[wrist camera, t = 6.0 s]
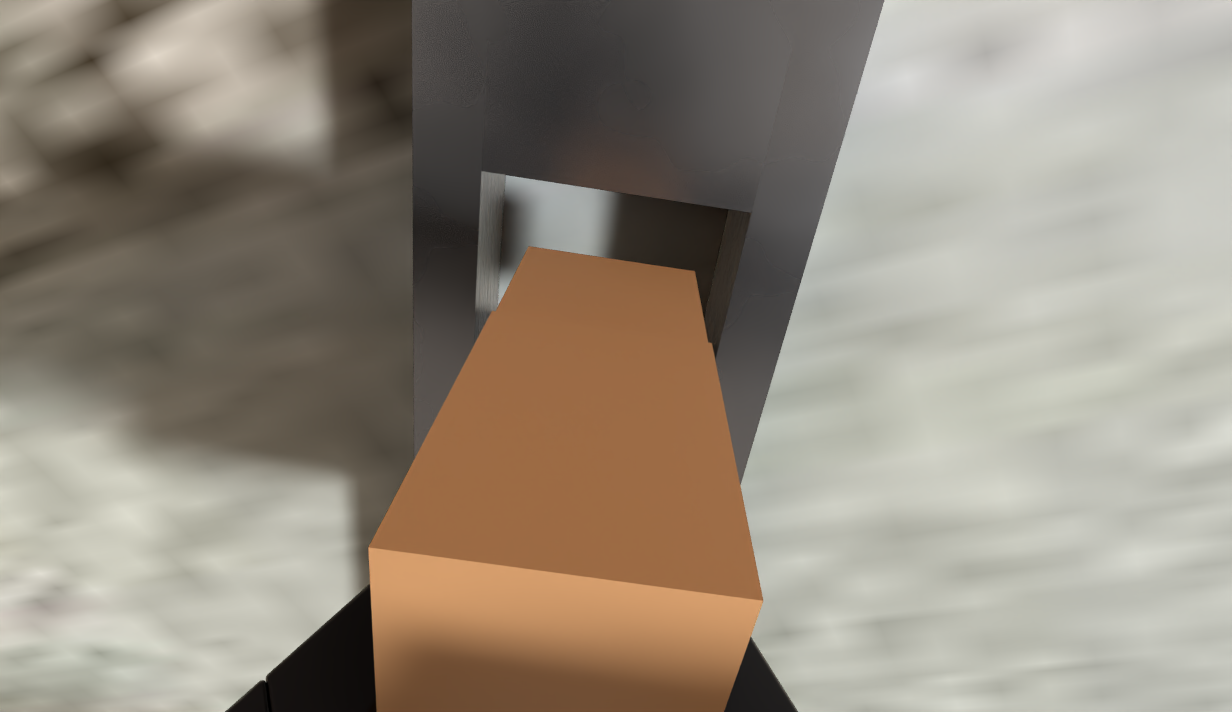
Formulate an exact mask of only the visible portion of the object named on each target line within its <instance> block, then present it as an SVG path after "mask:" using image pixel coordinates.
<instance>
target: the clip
mask: <svg viewBox="0 0 1232 712" xmlns="http://www.w3.org/2000/svg"><path fill="white" fill-rule="evenodd" d="M368 551H369V570H370V590H371V610H372V630H373V649H374V669H375V689H376V708H377V712H724V710H725V707H726V705H727V702H728V699H729V696H730V693H731V690H732V688H733V685H734V682H735V679H736V676H737V674H738V671H739V668H740V665H741V662H742V659H743V657H744V654H745V651H746V648H747V645H748V643H749V640H750V637H751V634H752V631H753V629H754V626H755V623H756V620H757V617H758V614H759V612H760V609H761V606H762V603H763V597H762V592H761V587H760V582H759V577H758V572H757V567H756V562H755V557H754V552H753V547H752V542H751V537H750V532H749V527H748V522H747V517H746V512H745V507H744V502H743V497H742V492H741V487H740V482H739V477H738V472H737V467H736V462H735V457H734V452H733V447H732V442H731V437H730V432H729V427H728V422H727V416H726V411H725V406H724V401H723V396H722V391H721V386H720V381H719V376H718V371H717V366H716V361H715V356H714V351H713V346H712V343H708V338H707V333H706V328H705V322H704V317H703V312H702V306H701V301H700V296H699V291H698V285H697V280H696V275H695V271H690V270H683V269H677V268H670V267H663V266H657V265H650V264H643V263H637V262H630V261H623V260H617V259H610V258H603V257H597V256H590V255H583V254H577V253H570V252H563V251H557V250H550V249H544V248H537V247H530V246H529V247H528V249H527V251H526V253H525V255H524V257H523V259H522V260H521V262H520V264H519V266H518V268H517V270H516V272H515V274H514V276H513V278H512V280H511V282H510V284H509V286H508V288H507V290H506V292H505V294H504V296H503V298H502V300H501V302H500V304H499V306H498V308H497V309H496V311H492V312H491V314H490V316H489V318H488V319H487V321H486V323H485V325H484V327H483V329H482V331H481V333H480V335H479V337H478V339H477V341H476V342H475V344H474V346H473V348H472V350H471V352H470V354H469V356H468V358H467V360H466V362H465V363H464V365H463V367H462V369H461V371H460V373H459V375H458V377H457V379H456V381H455V383H454V385H453V386H452V388H451V390H450V392H449V394H448V396H447V398H446V400H445V402H444V404H443V406H442V407H441V409H440V411H439V413H438V415H437V417H436V419H435V421H434V423H433V425H432V427H431V429H430V430H429V432H428V434H427V436H426V438H425V440H424V442H423V444H422V446H421V448H420V450H419V451H418V453H417V455H416V457H415V459H414V461H413V463H412V465H411V467H410V469H409V471H408V472H407V474H406V476H405V478H404V480H403V482H402V484H401V486H400V488H399V490H398V492H397V494H396V495H395V497H394V499H393V501H392V503H391V505H390V507H389V509H388V511H387V513H386V515H385V516H384V518H383V520H382V522H381V524H380V526H379V528H378V530H377V532H376V534H375V536H374V538H373V539H372V541H371V543H370V545H369V547H368Z"/></svg>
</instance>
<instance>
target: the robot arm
mask: <svg viewBox="0 0 1232 712" xmlns="http://www.w3.org/2000/svg"><path fill="white" fill-rule="evenodd" d="M225 712H377V708H376V689H375V669H374V649H373V630H372V610H371V590H370V584H369V585H368V586H367V587H366V588H364V589H363V590H362V591H361V592H360V593H359V594H358V595H357V596H355V597H354V598H353V599H352V600H351V601H350V602H349V603H348V604H346V605H345V606H344V607H343V608H342V609H341V610H340V611H339V612H337V613H336V614H335V615H334V616H333V617H332V618H331V619H330V620H328V621H327V622H326V623H325V624H324V625H323V626H322V627H321V628H319V629H318V630H317V631H316V632H315V633H314V634H313V635H312V636H310V637H309V638H308V639H307V640H306V641H305V642H304V643H303V644H301V645H300V646H299V647H298V648H297V649H296V650H295V651H294V652H292V653H291V654H290V655H289V656H288V657H287V658H286V659H285V660H283V661H282V662H281V663H280V664H279V665H278V666H277V667H276V668H274V669H273V670H272V671H271V672H270V673H269V674H268V675H267V676H266V681H264V680H261V681H259V682H258V683H257V684H256V685H255V686H254V687H253V688H252V689H250V690H249V691H248V692H247V693H246V694H245V695H244V696H243V697H241V698H240V699H239V700H238V701H237V702H236V703H235V704H234V705H232V706H231V707H230V708H229V709H228V710H226V711H225ZM724 712H798V711H797V709H796V708H795V706H794V705H793V703H792V701H791V700H790V698H789V697H788V695H787V693H786V692H785V690H784V689H783V687H782V685H781V684H780V682H779V681H778V679H777V677H776V676H775V674H774V673H773V671H772V670H771V668H770V666H769V665H768V663H767V662H766V660H765V658H764V657H763V655H762V654H761V652H760V650H759V649H758V647H757V646H756V644H755V642H754V641H753V639H752V638H751V637H750V640H749V643H748V645H747V648H746V651H745V654H744V657H743V659H742V662H741V665H740V668H739V671H738V674H737V676H736V679H735V682H734V685H733V688H732V690H731V693H730V696H729V699H728V702H727V705H726V707H725V710H724Z"/></svg>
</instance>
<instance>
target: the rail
mask: <svg viewBox="0 0 1232 712" xmlns="http://www.w3.org/2000/svg"><path fill="white" fill-rule="evenodd" d="M883 3H884V0H412V124H413V330H414V459H415V457H416V455H417V453H418V451H419V450H420V448H421V446H422V444H423V442H424V440H425V438H426V436H427V434H428V432H429V430H430V429H431V427H432V425H433V423H434V421H435V419H436V417H437V415H438V413H439V411H440V409H441V407H442V406H443V404H444V402H445V400H446V398H447V396H448V394H449V392H450V390H451V388H452V386H453V385H454V383H455V381H456V379H457V377H458V375H459V373H460V371H461V369H462V367H463V365H464V363H465V362H466V360H467V358H468V356H469V354H470V352H471V350H472V348H473V346H474V344H475V342H476V341H477V339H478V337H479V335H480V333H481V331H482V329H483V327H484V325H485V323H486V321H487V319H488V318H489V316H490V314H491V312H492V311H496V309H497V305H498V289H499V273H500V257H501V240H502V224H503V208H504V192H505V176H506V175H509V176H516V177H522V178H529V179H535V180H542V181H548V182H555V183H561V184H568V185H574V186H581V187H587V188H594V189H600V190H607V191H614V192H620V193H627V194H633V195H640V196H646V197H653V198H659V199H666V200H672V201H679V202H685V203H692V204H698V205H705V206H711V207H718V208H724V209H729V211H728V215H727V219H726V224H725V228H724V233H723V237H722V241H721V246H720V250H719V254H718V259H717V263H716V268H715V272H714V276H713V281H712V285H711V290H710V294H709V298H708V303H707V307H706V311H705V316H704V322H705V328H706V333H707V338H708V343H712V346H713V351H714V356H715V361H716V366H717V371H718V376H719V381H720V386H721V391H722V396H723V401H724V406H725V411H726V416H727V422H728V427H729V432H730V437H731V442H732V447H733V452H734V457H735V462H736V467H737V472H738V477H739V482H740V485H741V481H742V478H743V474H744V471H745V468H746V464H747V461H748V458H749V454H750V451H751V448H752V444H753V441H754V437H755V434H756V431H757V427H758V424H759V421H760V417H761V414H762V411H763V407H764V404H765V400H766V397H767V394H768V390H769V387H770V384H771V380H772V377H773V373H774V370H775V367H776V363H777V360H778V357H779V353H780V350H781V347H782V343H783V340H784V336H785V333H786V330H787V326H788V323H789V320H790V316H791V313H792V310H793V306H794V303H795V299H796V296H797V293H798V289H799V286H800V283H801V279H802V276H803V273H804V269H805V266H806V262H807V259H808V256H809V252H810V249H811V246H812V242H813V239H814V235H815V232H816V229H817V225H818V222H819V219H820V215H821V212H822V209H823V205H824V202H825V198H826V195H827V192H828V188H829V185H830V182H831V178H832V175H833V172H834V168H835V165H836V161H837V158H838V155H839V151H840V148H841V145H842V141H843V138H844V134H845V131H846V128H847V124H848V121H849V118H850V114H851V111H852V108H853V104H854V101H855V97H856V94H857V91H858V87H859V84H860V81H861V77H862V74H863V71H864V67H865V64H866V60H867V57H868V54H869V50H870V47H871V44H872V40H873V37H874V33H875V30H876V27H877V23H878V20H879V17H880V13H881V10H882V7H883Z"/></svg>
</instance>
